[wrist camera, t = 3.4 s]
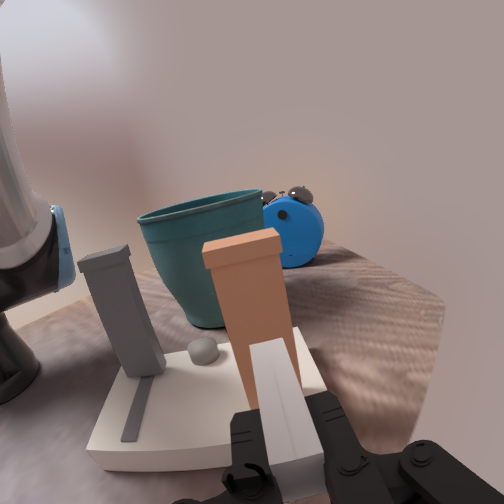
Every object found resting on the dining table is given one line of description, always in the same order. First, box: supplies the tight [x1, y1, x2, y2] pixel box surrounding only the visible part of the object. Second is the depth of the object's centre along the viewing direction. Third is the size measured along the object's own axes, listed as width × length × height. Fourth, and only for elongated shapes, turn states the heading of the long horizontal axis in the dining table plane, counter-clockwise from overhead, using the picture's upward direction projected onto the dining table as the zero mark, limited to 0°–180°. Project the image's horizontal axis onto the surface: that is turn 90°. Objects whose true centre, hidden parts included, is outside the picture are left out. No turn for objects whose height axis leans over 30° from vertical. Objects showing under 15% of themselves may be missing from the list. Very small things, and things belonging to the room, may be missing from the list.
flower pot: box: [137, 188, 265, 328], centre depth 44 cm, size 18×18×17 cm
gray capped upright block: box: [77, 245, 167, 378], centre depth 26 cm, size 2×4×12 cm, turn 95°
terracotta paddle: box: [202, 227, 304, 410], centre depth 19 cm, size 2×4×12 cm, turn 95°
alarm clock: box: [261, 186, 324, 268], centre depth 58 cm, size 13×6×15 cm, turn 72°
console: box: [86, 327, 327, 472], centre depth 25 cm, size 14×20×4 cm
